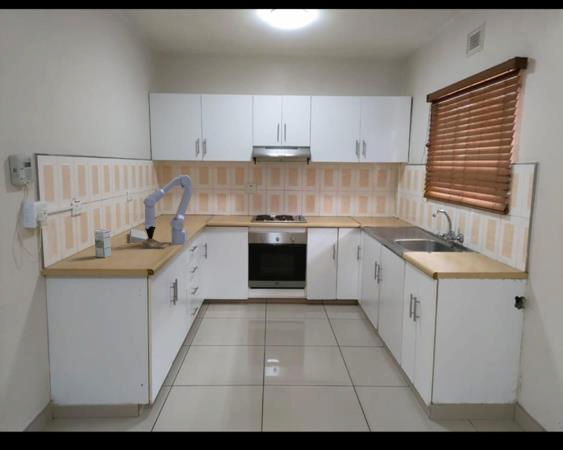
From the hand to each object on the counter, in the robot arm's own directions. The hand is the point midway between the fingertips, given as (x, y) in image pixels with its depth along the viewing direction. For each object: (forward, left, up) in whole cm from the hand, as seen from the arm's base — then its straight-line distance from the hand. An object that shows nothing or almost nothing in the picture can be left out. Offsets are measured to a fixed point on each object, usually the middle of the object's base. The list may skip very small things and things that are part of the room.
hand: (150, 238), depth 243 cm
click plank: (-1, +3, -3) cm, 4 cm away
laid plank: (-8, +3, -4) cm, 9 cm away
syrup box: (+16, +30, -5) cm, 35 cm away
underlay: (-4, +3, -5) cm, 7 cm away
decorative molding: (+17, -27, -6) cm, 32 cm away
